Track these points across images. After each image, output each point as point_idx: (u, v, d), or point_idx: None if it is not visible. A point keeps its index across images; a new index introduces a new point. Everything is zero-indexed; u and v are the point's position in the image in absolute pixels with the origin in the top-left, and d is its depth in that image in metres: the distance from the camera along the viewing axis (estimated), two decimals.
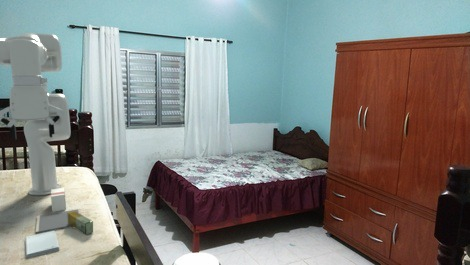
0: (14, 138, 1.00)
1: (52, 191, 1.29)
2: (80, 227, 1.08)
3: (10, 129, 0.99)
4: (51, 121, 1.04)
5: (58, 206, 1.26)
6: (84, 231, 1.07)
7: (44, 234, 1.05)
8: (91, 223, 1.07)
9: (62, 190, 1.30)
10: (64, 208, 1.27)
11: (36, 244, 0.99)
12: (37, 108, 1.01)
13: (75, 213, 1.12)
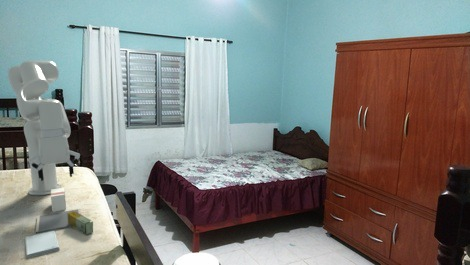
0: (42, 179, 1.24)
1: (52, 191, 1.29)
2: (80, 227, 1.08)
3: (39, 172, 1.24)
4: (71, 163, 1.28)
5: (58, 206, 1.26)
6: (84, 231, 1.07)
7: (44, 234, 1.05)
8: (91, 223, 1.07)
9: (62, 190, 1.30)
10: (64, 208, 1.27)
11: (36, 245, 0.98)
12: (60, 154, 1.25)
13: (75, 213, 1.12)
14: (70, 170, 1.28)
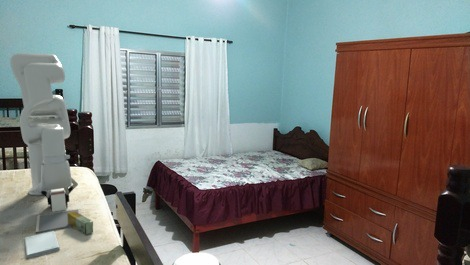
0: (51, 206, 1.27)
1: (52, 191, 1.29)
2: (80, 227, 1.08)
3: (48, 199, 1.27)
4: (67, 192, 1.29)
5: (58, 206, 1.26)
6: (84, 231, 1.07)
7: (43, 234, 1.05)
8: (91, 223, 1.07)
9: (62, 190, 1.30)
10: (64, 208, 1.27)
11: (36, 245, 0.98)
12: (62, 180, 1.27)
13: (75, 213, 1.12)
14: (66, 198, 1.29)
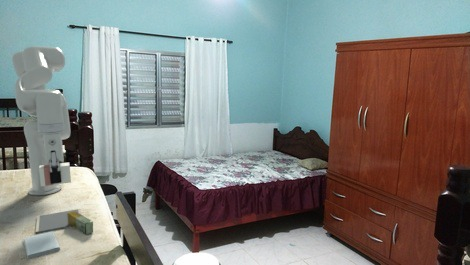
0: None
1: (59, 163, 1.16)
2: (80, 227, 1.08)
3: None
4: (50, 169, 1.10)
5: None
6: (84, 231, 1.07)
7: (43, 235, 1.04)
8: (91, 223, 1.07)
9: None
10: None
11: (36, 245, 0.98)
12: (45, 153, 1.10)
13: (75, 213, 1.12)
14: None
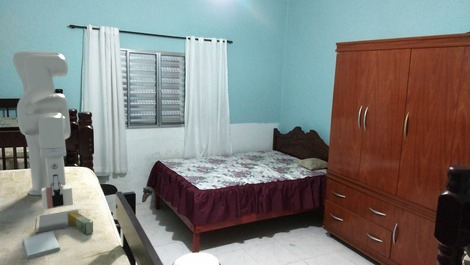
0: None
1: (61, 186, 1.17)
2: (80, 227, 1.08)
3: None
4: None
5: None
6: (84, 231, 1.07)
7: (42, 235, 1.04)
8: (91, 223, 1.07)
9: None
10: (43, 207, 1.12)
11: (36, 245, 0.98)
12: (47, 176, 1.11)
13: (75, 213, 1.12)
14: (52, 199, 1.12)
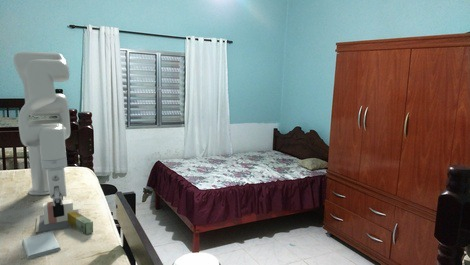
0: None
1: (62, 200, 1.18)
2: (80, 227, 1.08)
3: None
4: (53, 203, 1.10)
5: None
6: (84, 231, 1.07)
7: (42, 235, 1.04)
8: (91, 223, 1.07)
9: None
10: (44, 222, 1.13)
11: (36, 246, 0.98)
12: (48, 187, 1.12)
13: (75, 213, 1.12)
14: None
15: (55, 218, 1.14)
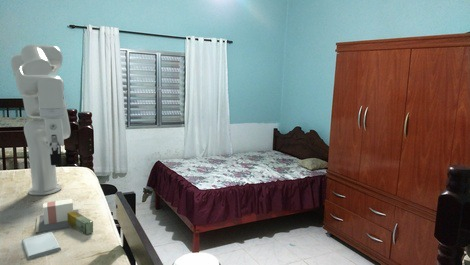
0: None
1: (62, 200, 1.18)
2: (80, 227, 1.08)
3: None
4: (50, 151, 1.12)
5: None
6: (84, 231, 1.07)
7: (41, 236, 1.04)
8: (91, 223, 1.07)
9: (61, 204, 1.15)
10: (44, 222, 1.13)
11: (36, 246, 0.98)
12: (46, 136, 1.13)
13: (75, 213, 1.12)
14: (50, 157, 1.13)
15: (55, 218, 1.14)
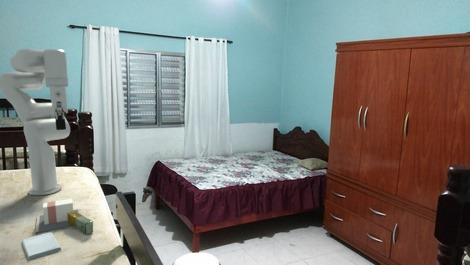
0: None
1: (62, 200, 1.18)
2: (80, 227, 1.08)
3: None
4: (56, 116, 1.23)
5: None
6: (84, 231, 1.07)
7: (41, 236, 1.04)
8: (91, 223, 1.07)
9: (61, 204, 1.15)
10: (44, 222, 1.13)
11: (36, 246, 0.98)
12: None
13: (75, 213, 1.12)
14: (55, 123, 1.23)
15: (55, 218, 1.14)
